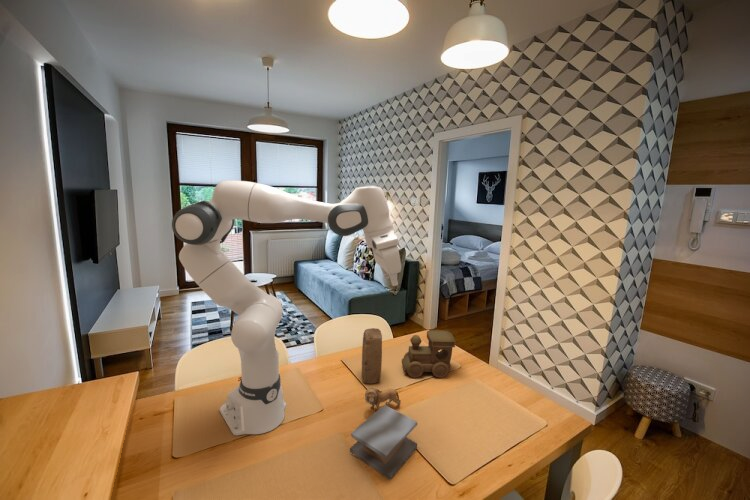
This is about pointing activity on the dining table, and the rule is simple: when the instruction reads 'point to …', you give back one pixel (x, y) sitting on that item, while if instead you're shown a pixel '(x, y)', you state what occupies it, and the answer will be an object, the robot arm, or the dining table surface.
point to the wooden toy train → (430, 354)
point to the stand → (384, 441)
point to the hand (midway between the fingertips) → (391, 281)
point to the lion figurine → (381, 397)
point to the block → (371, 355)
